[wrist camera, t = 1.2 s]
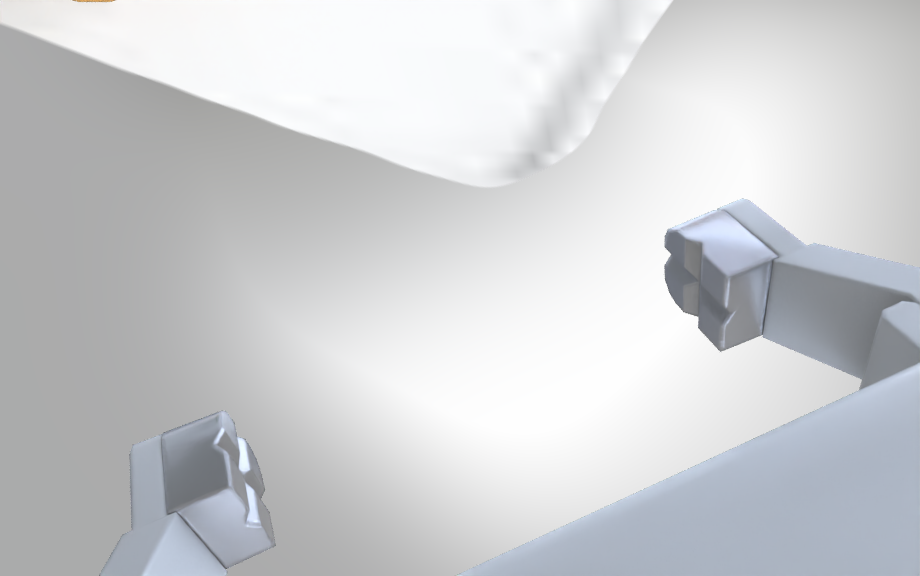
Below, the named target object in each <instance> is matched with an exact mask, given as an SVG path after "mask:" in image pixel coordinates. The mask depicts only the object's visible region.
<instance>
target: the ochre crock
mask: <svg viewBox="0 0 920 576" xmlns="http://www.w3.org/2000/svg"><path fill="white" fill-rule="evenodd" d="M73 1H77V2H113V1H115V0H73Z"/></svg>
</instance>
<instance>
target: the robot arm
mask: <svg viewBox="0 0 920 576" xmlns="http://www.w3.org/2000/svg"><path fill="white" fill-rule="evenodd" d="M665 248H666V249H667V250H668V251H669V252H670V253H671V256H670V257H669V259H668V261H667V262H666V264H665V281H666V284H667V286H668V289H669V293H670V294H671V296H672V298H673V299H674V301H675V303H676V304H677V305H678V306H679V307H680V308H681V310H682V311H683V312H685V313H688V314H691V315H694V316H698V317H699V321H698V328H699V329H700V330H701V331H702V333H703V334H705V336H706V337H707V338H708V339H709V340H710V341H711V342H712V343H713V344H714V345H715V346H716V347H717V349H718V350H719V351H720V352H721V351H724V350H726V349H729V348H731V347H734V346H736V345H739V344H741V343H743V342H746V341H748V340H751V339H753V338H756V337H758V336H761V335H763V338H766V339H768V340H770V341H773V342H775V343H778V344H780V345H782V346H785V347H787V348H789V349H792V350H794V351H797V352H799V353H801V354H804V355H806V356H808V357H811V358H813V359H815V360H818V361H820V362H822V363H825V364H827V365H830V366H832V367H834V368H836V369H839V370H841V371H843V372H846V373H848V374H850V375H853V376H855V377H858V378H860V379H862V382H861V386H860V389H859V391H856V392H854V393H852V394H850V395H848V396H846V397H843V398H841V399H839V400H837V401H835V402H833V403H830V404H828V405H826V406H824V407H821V408H819V409H817V410H815V411H813V412H811V413H808V414H806V415H804V416H802V417H800V418H798V419H795V420H793V421H791V422H789V423H787V424H784V425H782V426H780V427H778V428H776V429H774V430H771V431H769V432H767V433H765V434H763V435H760V436H758V437H756V438H754V439H752V440H750V441H748V442H745V443H743V444H741V445H739V446H737V447H735V448H732V449H730V450H728V451H726V452H724V453H722V454H719V455H717V456H715V457H713V458H710V459H708V460H706V461H704V462H702V463H700V464H698V465H695V466H693V467H691V468H689V469H687V470H684V471H682V472H680V473H678V474H676V475H674V476H671V477H669V478H667V479H665V480H663V481H661V482H658V483H656V484H654V485H652V486H650V487H648V488H645V489H643V490H641V491H639V492H637V493H635V494H633V495H630V496H628V497H626V498H624V499H621V500H619V501H617V502H615V503H613V504H610V505H608V506H606V507H604V508H602V509H600V510H597V511H595V512H593V513H591V514H589V515H587V516H584V517H582V518H580V519H578V520H576V521H573V522H571V523H569V524H567V525H565V526H563V527H560V528H558V529H556V530H554V531H552V532H549V533H547V534H545V535H543V536H541V537H539V538H536V539H534V540H532V541H530V542H528V543H525V544H523V545H521V546H519V547H517V548H514V549H512V550H510V551H508V552H506V553H504V554H502V555H499V556H497V557H495V558H493V559H490V560H488V561H486V562H484V563H482V564H480V565H477V566H475V567H473V568H471V569H469V570H467V571H464V572H462V573H460V574H458V575H456V576H920V268H919V267H915V266H910V265H906V264H902V263H898V262H893V261H889V260H885V259H880V258H876V257H872V256H867V255H863V254H859V253H854V252H850V251H845V250H842V249H837V248H833V247H829V246H825V245H820V244H816V243H813V244H810V245H808V246H806V245H805V244H804V243H803V242H801V241H800V240H799V239H798V238H796V237H795V236H794V235H793V234H791V233H790V232H789V231H787V230H786V229H785V228H783V227H782V226H781V225H780V224H779V223H777V222H776V221H775V220H774V219H772V218H771V217H770V216H769V215H767V214H766V213H765V212H763V211H762V210H761V209H760V208H759V207H757V206H756V205H755V204H753V203H752V202H751V201H749V200H747V199H740V200H737V201H735V202H732V203H730V204H728V205H725V206H723V207H720V208H718V209H717V210H713V211H711V212H708V213H706V214H704V215H701V216H699V217H696V218H694V219H692V220H689V221H687V222H684V223H682V224H680V225H677V226H675V227H672V228H670V229H668V231H667V233H666V235H665ZM129 456H130V489H131V490H130V491H131V523H132V524H131V528H132V530H131V531H129V532H127V533H125V534H123V535H122V536H121V538H120V540H119V541H118V543H117V545H116V547H115V549H114V550H113V552H112V554H111V555H110V557H109V559H108V561H107V562H106V564H105V566H104V568H103V569H102V571H101V573H100V575H99V576H226V575H227V570H226V569H227V568H229V567H232V566H234V565H236V564H238V563H240V562H242V561H244V560H247V559H249V558H251V557H253V556H255V555H257V554H259V553H262V552H264V551H266V550H268V549H270V548H272V547H274V546H276V544H275V539H274V533H273V528H272V523H271V518H270V512H269V511H268V509H267V508H266V506H265V505H264V503H263V502H262V501H261V498H262V495H263V493H264V491H265V487H264V483H263V478H262V474H261V471H260V468H259V465H258V462H257V459H256V457H255V455H254V453H253V451H252V449H251V447H250V446H249V444H248V443H247V441H246V439H244V438H241V437H237V433H236V428H235V423H234V422H233V420H232V419H231V417H230V416H229V414H228V413H227V412H226V411H219V412H217V413H214V414H212V415H209V416H206V417H204V418H201V419H198V420H196V421H193V422H191V423H188V424H185V425H183V426H180V427H177V428H175V429H172V430H169V431H167V432H164V433H163V434H161V435H158V436H155V437H153V438H150V439H147V440H145V441H142V442H139V443H137V444H134V445H133V446H132V449H131V451H130V454H129Z"/></svg>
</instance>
